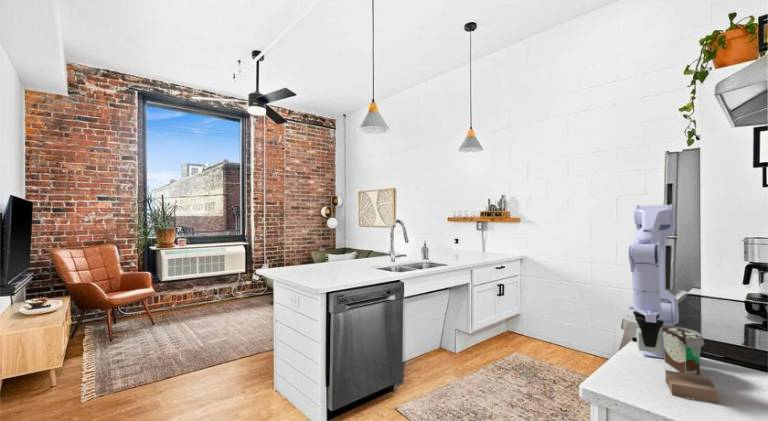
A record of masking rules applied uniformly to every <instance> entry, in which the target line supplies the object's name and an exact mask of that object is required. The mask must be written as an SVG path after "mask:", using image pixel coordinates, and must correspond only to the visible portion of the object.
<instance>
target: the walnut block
mask: <svg viewBox="0 0 768 421" xmlns="http://www.w3.org/2000/svg"><path fill="white" fill-rule="evenodd" d="M665 382H666V384H667V386H668V389H669V392H670V393H671V396H674V395H675V397H680V398H686V397H689V398H688V399H691V398H694V399H693V400H697V399H698V401H704V402H708V403H709V402H710V403H715V404H719V402H720V401H719V390H718V389H717V388H716V386H715V385H714V383H713V381H712V380H711V378H710V377H709V376H708V375H703V374H702V375H701V374H699V375H695V374H688V373H681V372H678V371H675V370H666V369H665Z"/></svg>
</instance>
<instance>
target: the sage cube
mask: <svg viewBox="0 0 768 421" xmlns="http://www.w3.org/2000/svg"><path fill="white" fill-rule="evenodd" d="M636 345H637V348H638V351H640V352H642V351H646V352H654V353H661V337H660V333H658V337H657V343H656V346H655V348H654V347H646V346H645V345H644V342H643V337H642V333H641V329H640V328H639V327H636Z"/></svg>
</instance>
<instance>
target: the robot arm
mask: <svg viewBox="0 0 768 421" xmlns="http://www.w3.org/2000/svg"><path fill="white" fill-rule="evenodd" d="M633 219H634V224H635V228H636V230H637V231H636V233H635V237H634V241H633V243H632V245H631V244H630V245H629V246H628V253H627V254H628V260H629V264H630V265H629V266H630V272H631V277H632V296H633V298H632V299H633V300H632V301H633V303H632V304H633V305H628V306H627V308H628V310H630V311H631V310H633V311H632V314H633V316H634V319H635V321H636V323H637V325H638V328H640V329H641V333H642V337H643V342H644V345H645V346H646V347H654V348H655V346H656V343H657V337H658V333H660V337H661V353H654V352H646V351H641V352H642V355H643V356H645V357H651V358H659V359H665V358H664V348H663V338H662V332H661V327H662V326H663V325H668V326H676V325H677V324H678V323H679V319H680V318H679V317H680V316H679V305H678V304H679V303H678V302H679V301H678V299H677V297H676V296H675V295H674V294H672V293H671V292H669V291H668V290H667V289H666V287H667V286H666V284H667V283H666V280H667V278H666V244H667V240H668V237H669V236H671V235H674V234H675V230H676V222H677V221H676V207H675V205H673V204H656V205H635V207H634V210H633Z"/></svg>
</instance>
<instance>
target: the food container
mask: <svg viewBox="0 0 768 421" xmlns="http://www.w3.org/2000/svg"><path fill="white" fill-rule="evenodd" d="M661 332H662V338H663V348H664V358H663V359H664V363H665V364H667V365H668V366H669V367H671V368H672V369H673V370H674V371H675V372H681V373H688V374H695V375H700V366H701V365H700V364H701V351H702V350H701V349H702V347H703V346H704V345H705V341H704V338H703V336H702V335H701V333H700V332H698V331H695V330H694V329H693V330H692V329H689V328H687V327H686V328H685V327H681V326H676V325H673V326H668V325H663V326H662V327H661Z"/></svg>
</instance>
